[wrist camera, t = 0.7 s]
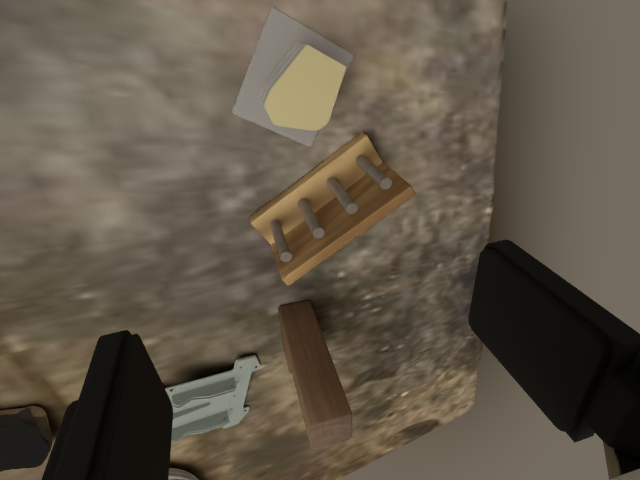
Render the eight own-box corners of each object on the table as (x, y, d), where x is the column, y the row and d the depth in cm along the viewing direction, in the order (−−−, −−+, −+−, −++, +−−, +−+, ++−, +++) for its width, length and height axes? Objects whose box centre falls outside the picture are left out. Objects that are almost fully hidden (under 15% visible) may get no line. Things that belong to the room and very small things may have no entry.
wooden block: (313, 343, 56) (353, 462, 41) (284, 350, 55) (314, 474, 40) (309, 298, 51) (353, 414, 36) (277, 305, 50) (308, 426, 36)
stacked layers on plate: (271, 6, 33) (282, 5, 28) (354, 55, 37) (375, 61, 32) (231, 113, 36) (235, 127, 32) (310, 147, 40) (324, 164, 36)
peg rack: (248, 217, 43) (258, 257, 36) (362, 131, 41) (395, 155, 34) (275, 244, 45) (288, 286, 38) (382, 165, 44) (416, 194, 37)
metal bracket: (155, 465, 51) (161, 392, 45) (146, 428, 55) (151, 356, 49) (250, 429, 60) (268, 362, 53) (237, 399, 64) (252, 334, 57)
